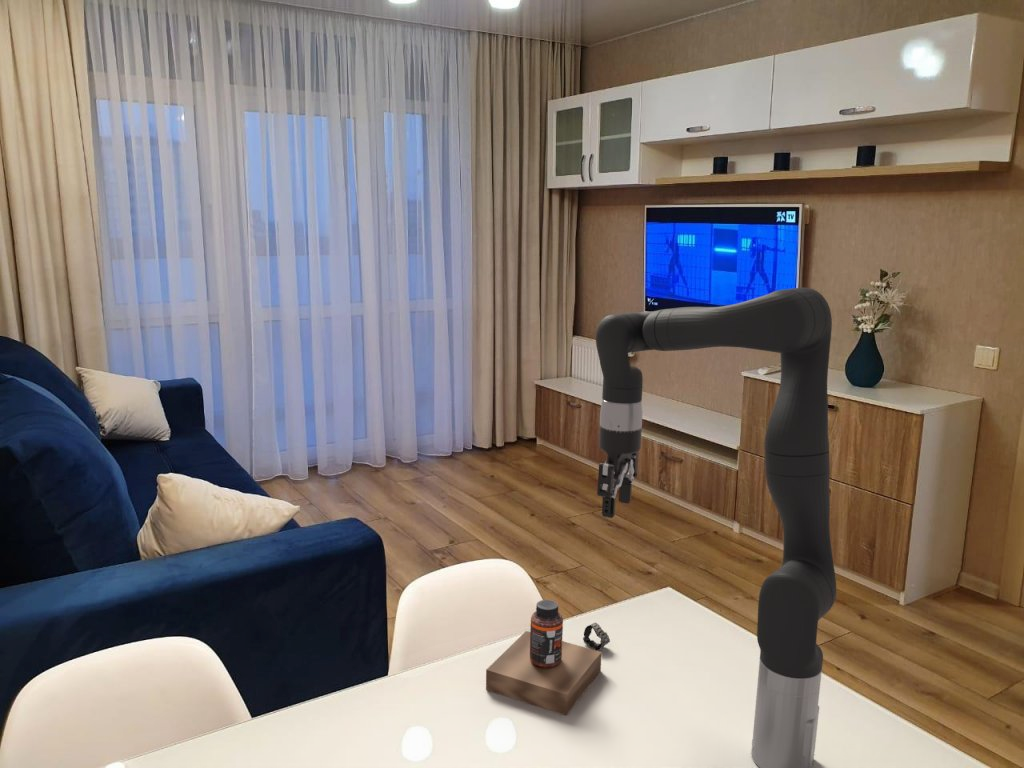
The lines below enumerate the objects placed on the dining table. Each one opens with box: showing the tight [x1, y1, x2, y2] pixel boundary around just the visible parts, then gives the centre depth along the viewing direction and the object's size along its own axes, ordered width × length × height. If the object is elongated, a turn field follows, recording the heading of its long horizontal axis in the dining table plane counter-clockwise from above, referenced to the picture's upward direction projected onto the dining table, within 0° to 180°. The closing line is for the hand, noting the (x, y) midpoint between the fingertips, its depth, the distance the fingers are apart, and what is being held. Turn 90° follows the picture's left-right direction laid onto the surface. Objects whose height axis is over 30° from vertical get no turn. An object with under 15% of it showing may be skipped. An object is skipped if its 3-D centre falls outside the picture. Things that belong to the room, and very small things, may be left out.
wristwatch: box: [582, 622, 611, 651], centre depth 165 cm, size 3×5×5 cm
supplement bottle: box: [529, 599, 564, 668], centre depth 151 cm, size 6×6×11 cm
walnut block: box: [485, 630, 602, 716], centre depth 152 cm, size 16×16×4 cm
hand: (616, 509), depth 151 cm, fingers open, 8 cm apart
